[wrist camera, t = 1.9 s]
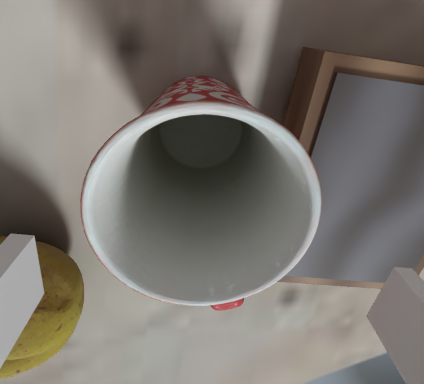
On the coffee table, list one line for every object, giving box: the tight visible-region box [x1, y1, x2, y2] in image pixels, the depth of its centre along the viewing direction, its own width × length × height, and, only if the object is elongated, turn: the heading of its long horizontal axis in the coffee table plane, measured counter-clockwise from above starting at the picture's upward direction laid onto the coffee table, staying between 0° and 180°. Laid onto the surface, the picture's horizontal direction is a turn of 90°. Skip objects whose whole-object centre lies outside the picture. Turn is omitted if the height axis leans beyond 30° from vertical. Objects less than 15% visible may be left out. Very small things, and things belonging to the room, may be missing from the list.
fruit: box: [0, 236, 84, 379], centre depth 24 cm, size 11×12×10 cm
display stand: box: [277, 47, 424, 289], centre depth 24 cm, size 14×18×4 cm
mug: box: [81, 76, 322, 310], centre depth 18 cm, size 13×9×14 cm
